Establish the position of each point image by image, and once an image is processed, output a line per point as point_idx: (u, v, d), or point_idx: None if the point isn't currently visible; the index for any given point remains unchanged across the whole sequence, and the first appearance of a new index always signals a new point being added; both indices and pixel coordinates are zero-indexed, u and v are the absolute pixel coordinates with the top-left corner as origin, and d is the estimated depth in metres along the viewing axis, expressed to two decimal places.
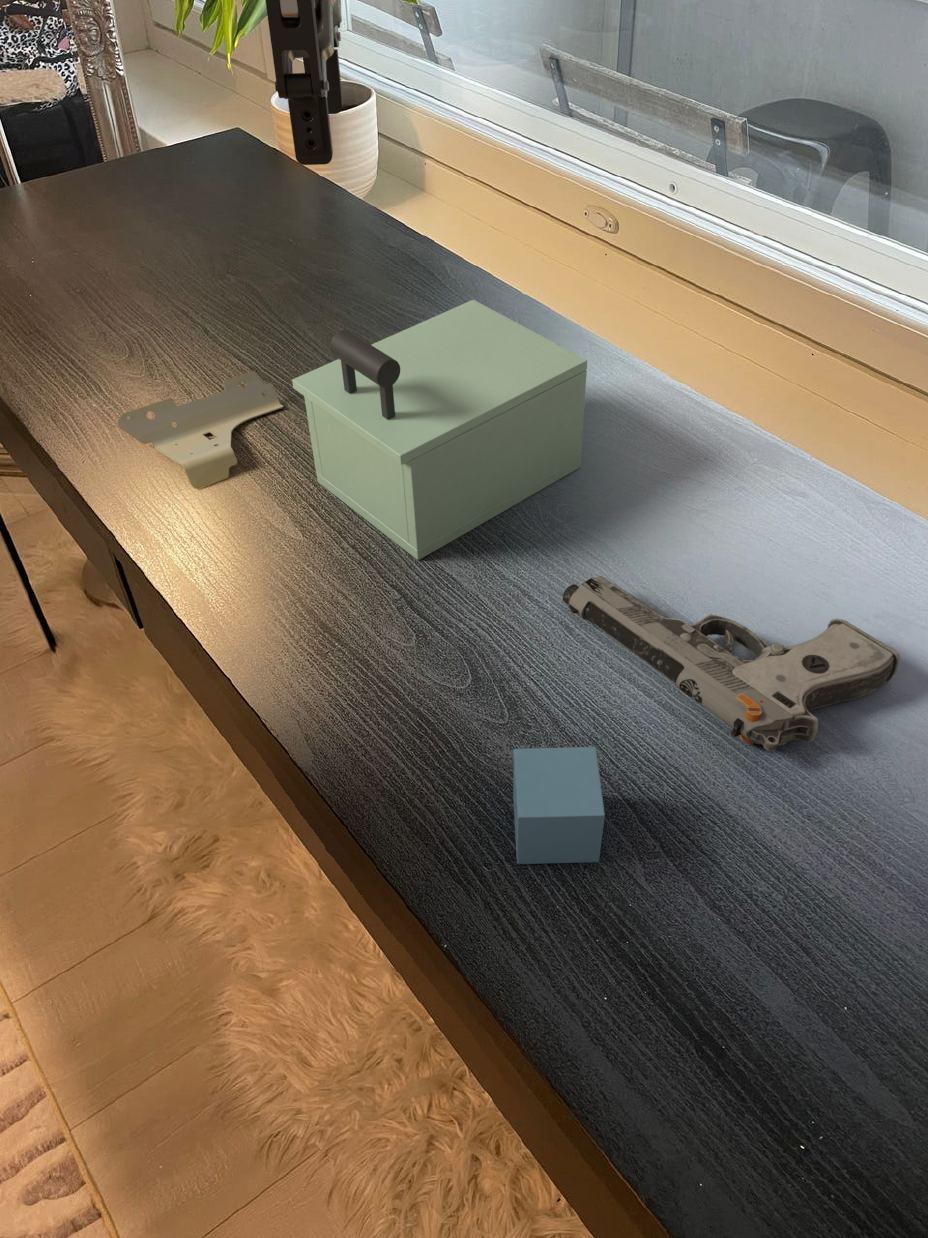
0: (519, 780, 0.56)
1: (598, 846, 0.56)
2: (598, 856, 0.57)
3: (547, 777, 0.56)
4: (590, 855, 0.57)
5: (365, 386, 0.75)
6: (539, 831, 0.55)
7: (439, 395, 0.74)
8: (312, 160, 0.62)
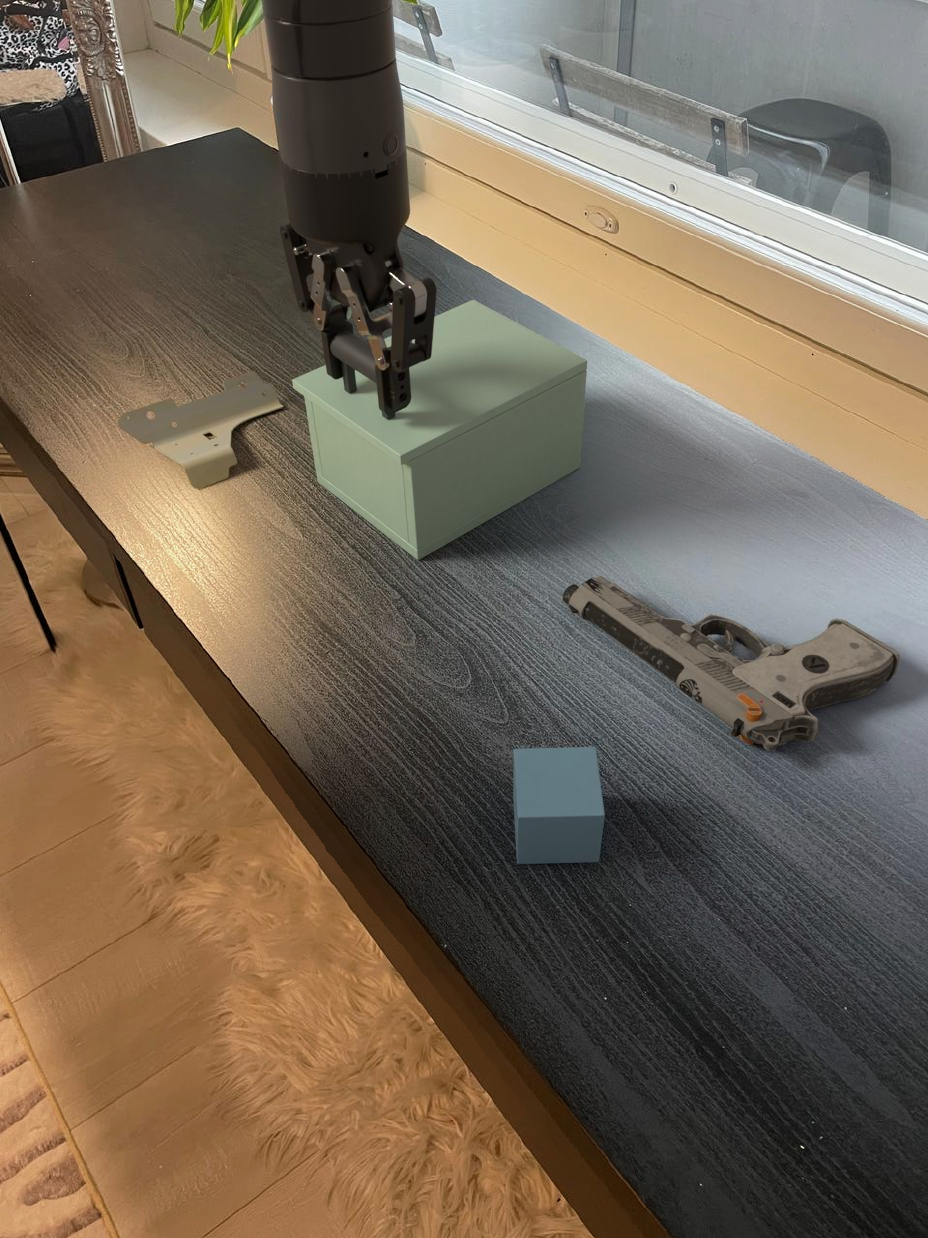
0: (519, 780, 0.56)
1: (598, 846, 0.56)
2: (598, 856, 0.57)
3: (547, 777, 0.56)
4: (590, 855, 0.57)
5: (365, 386, 0.75)
6: (539, 831, 0.55)
7: (439, 395, 0.74)
8: (396, 408, 0.70)
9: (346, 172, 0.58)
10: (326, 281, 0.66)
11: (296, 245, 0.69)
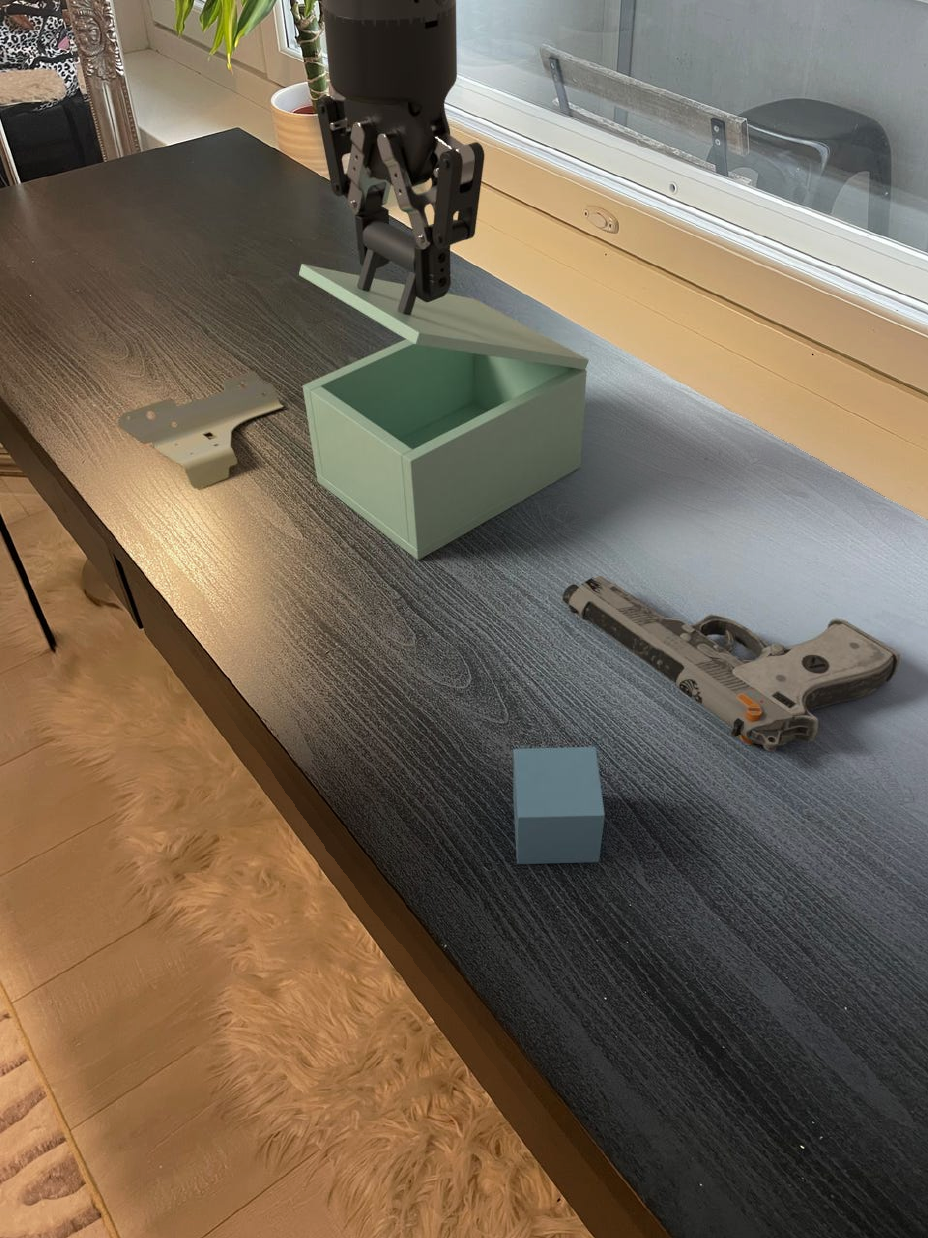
0: (519, 780, 0.56)
1: (598, 846, 0.56)
2: (598, 856, 0.57)
3: (547, 777, 0.56)
4: (590, 855, 0.57)
5: (377, 293, 0.71)
6: (539, 831, 0.55)
7: (452, 322, 0.71)
8: (434, 296, 0.67)
9: (395, 18, 0.55)
10: (365, 154, 0.63)
11: (333, 120, 0.65)
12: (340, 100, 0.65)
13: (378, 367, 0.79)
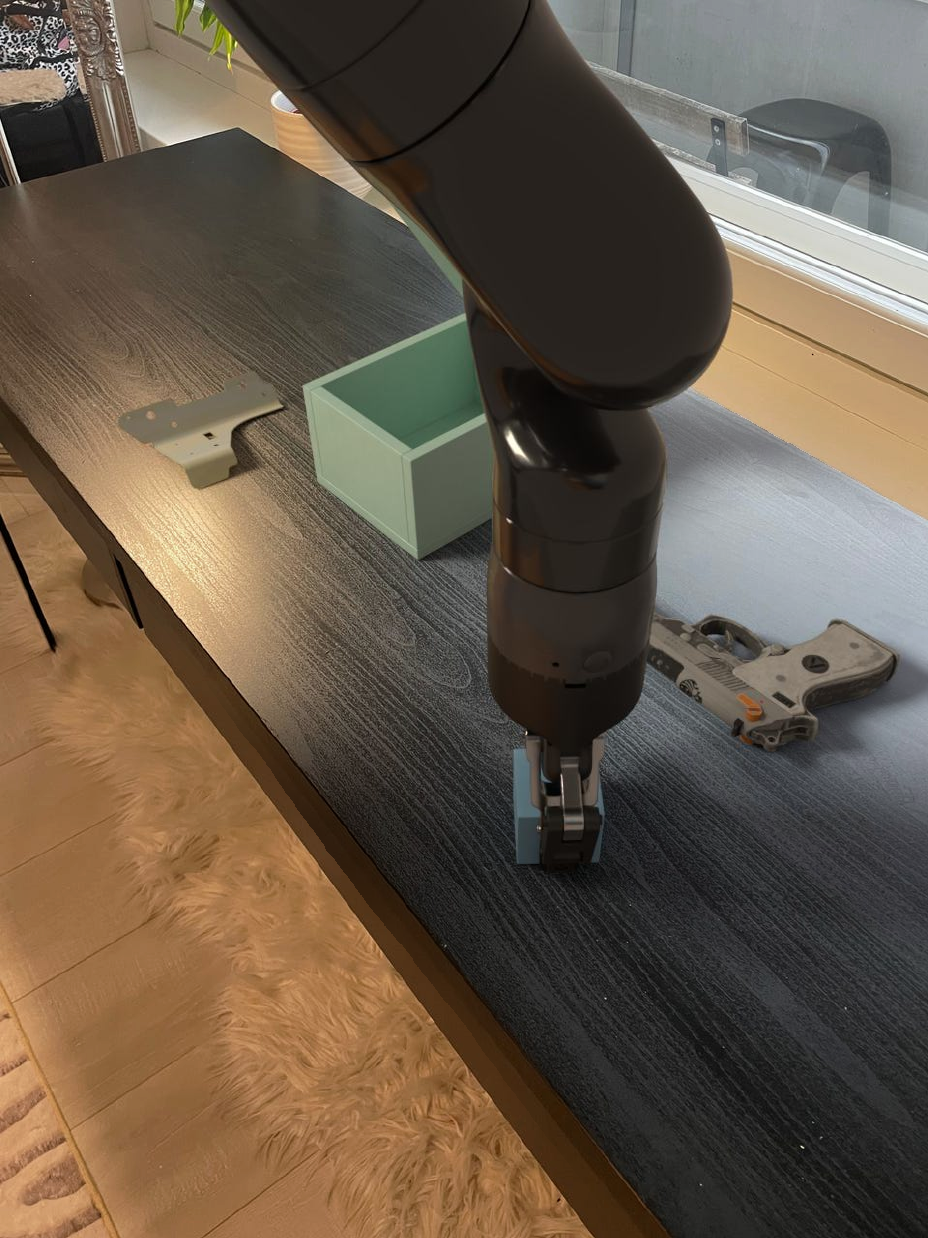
0: (519, 780, 0.56)
1: (598, 846, 0.56)
2: (598, 856, 0.57)
3: None
4: None
5: None
6: None
7: None
8: None
9: (528, 670, 0.45)
10: None
11: None
12: None
13: (378, 367, 0.79)
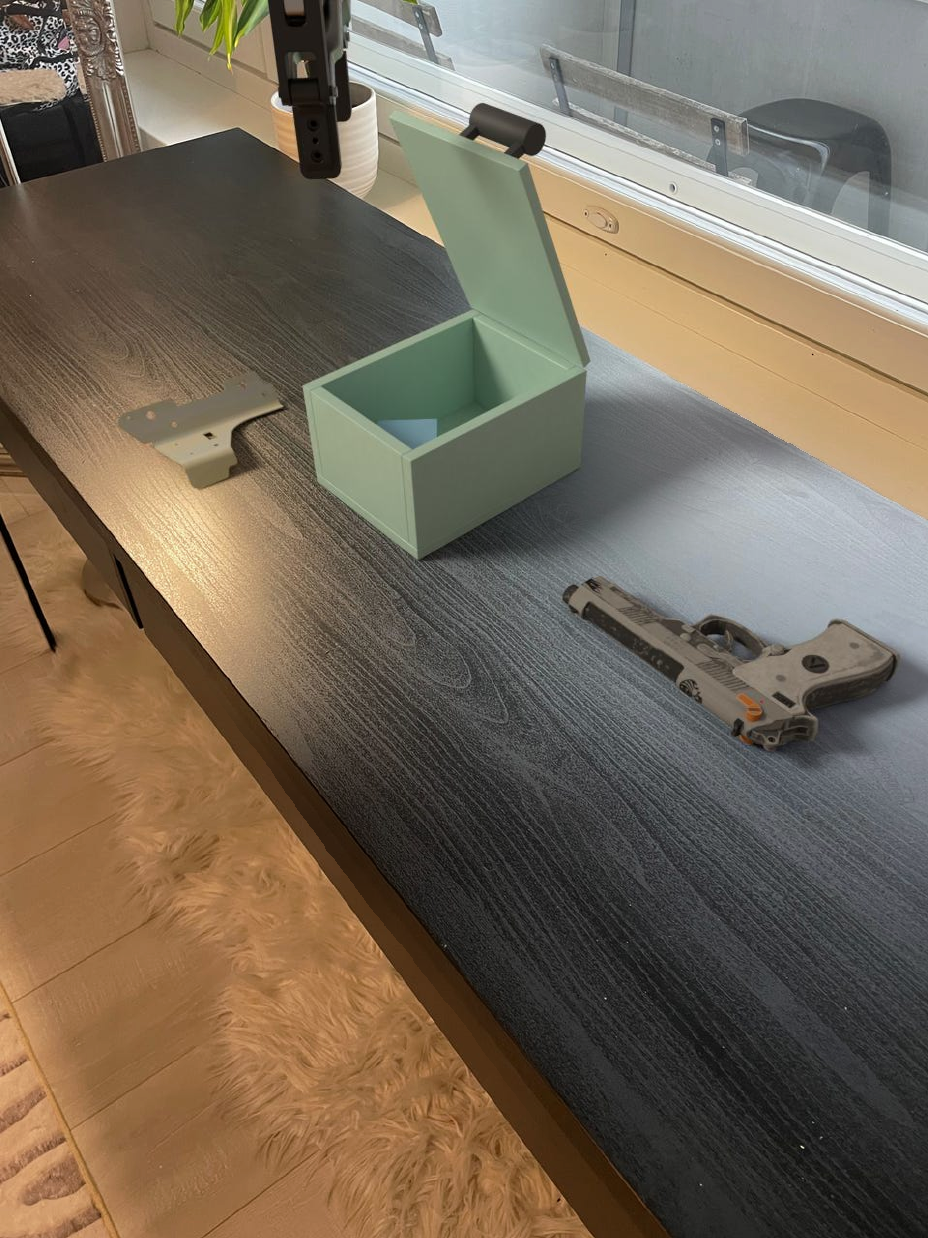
0: None
1: None
2: None
3: (399, 434, 0.78)
4: None
5: None
6: None
7: None
8: (319, 174, 0.56)
9: None
10: None
11: None
12: None
13: (378, 367, 0.79)
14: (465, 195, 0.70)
